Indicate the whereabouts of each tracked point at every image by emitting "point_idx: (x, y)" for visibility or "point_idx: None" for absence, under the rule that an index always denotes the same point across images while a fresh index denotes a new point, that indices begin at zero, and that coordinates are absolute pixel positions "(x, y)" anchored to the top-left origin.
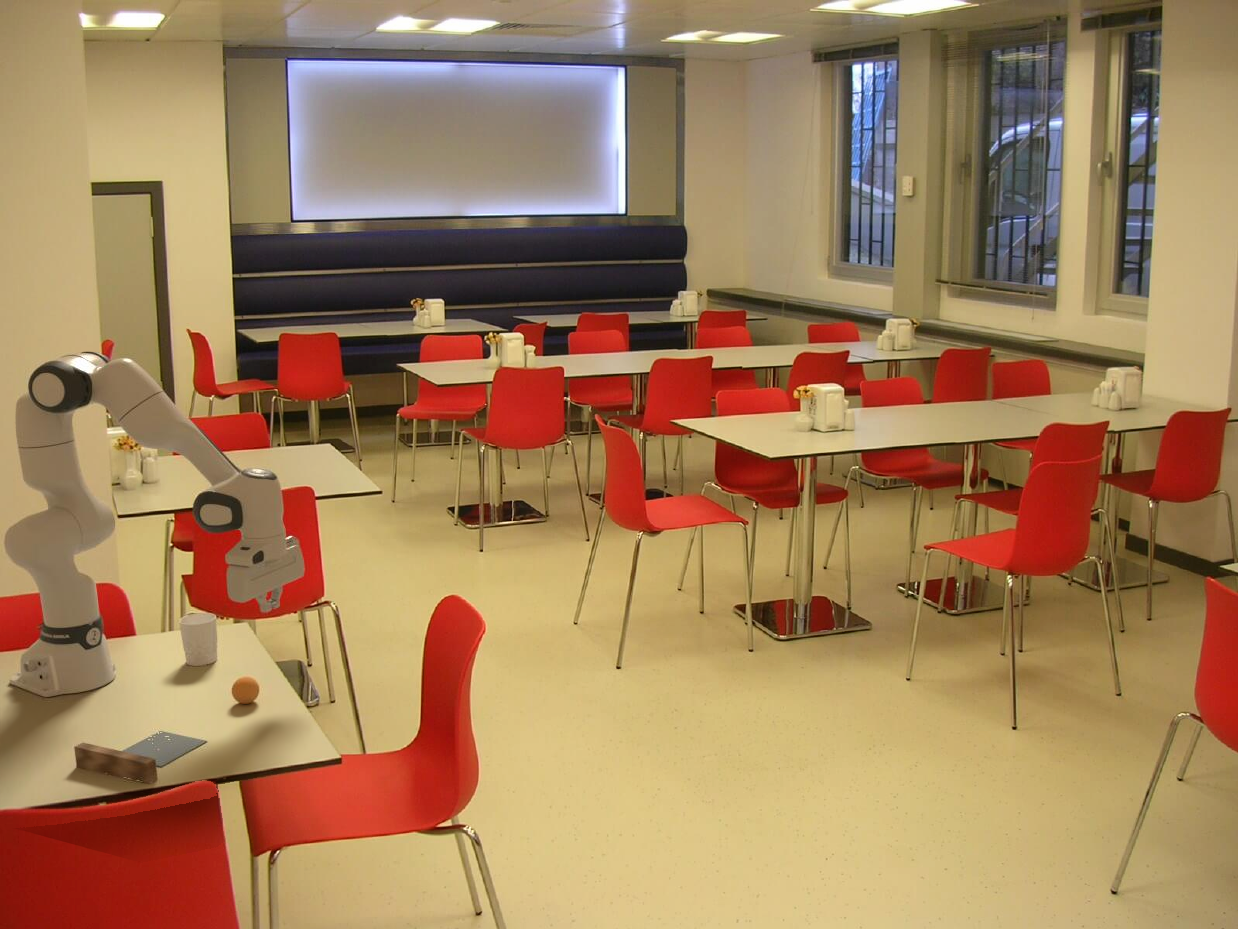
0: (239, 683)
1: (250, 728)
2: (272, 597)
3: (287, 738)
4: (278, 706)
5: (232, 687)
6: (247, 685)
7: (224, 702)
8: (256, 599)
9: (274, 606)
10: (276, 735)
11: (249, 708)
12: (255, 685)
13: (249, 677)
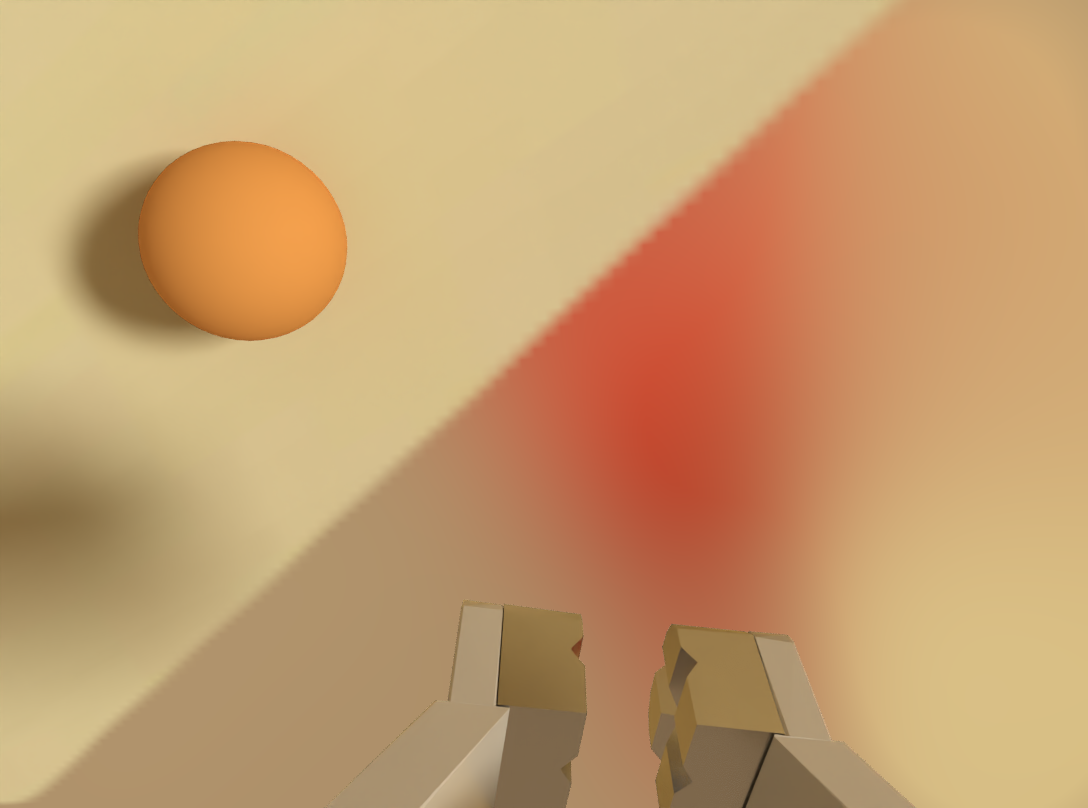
0: (153, 261)
1: (10, 438)
2: (786, 791)
3: (30, 639)
4: (312, 425)
5: (156, 183)
6: (183, 317)
7: (218, 55)
8: (340, 799)
9: (654, 736)
10: (25, 586)
11: None
12: (248, 340)
13: (247, 297)
